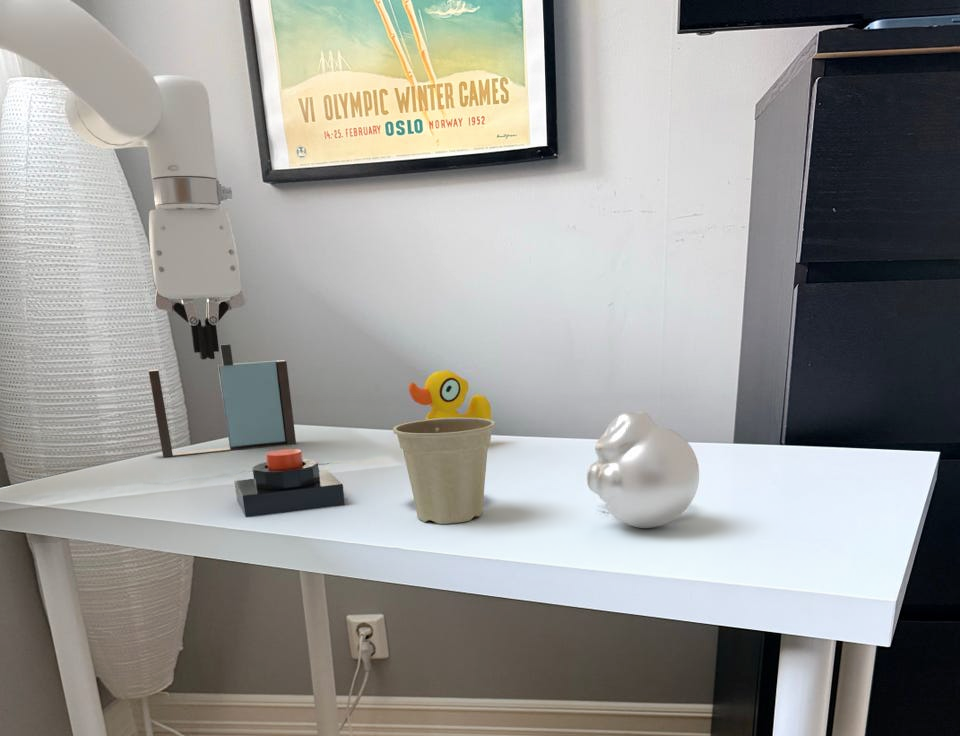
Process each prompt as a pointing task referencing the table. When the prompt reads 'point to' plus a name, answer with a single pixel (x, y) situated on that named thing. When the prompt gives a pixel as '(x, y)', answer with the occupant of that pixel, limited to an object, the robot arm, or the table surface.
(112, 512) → the table surface
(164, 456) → the window frame
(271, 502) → the button box
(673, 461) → the pearly white lumpy ball
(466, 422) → the flower pot
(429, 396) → the duckling
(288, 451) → the button
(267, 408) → the window pane
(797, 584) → the table surface
